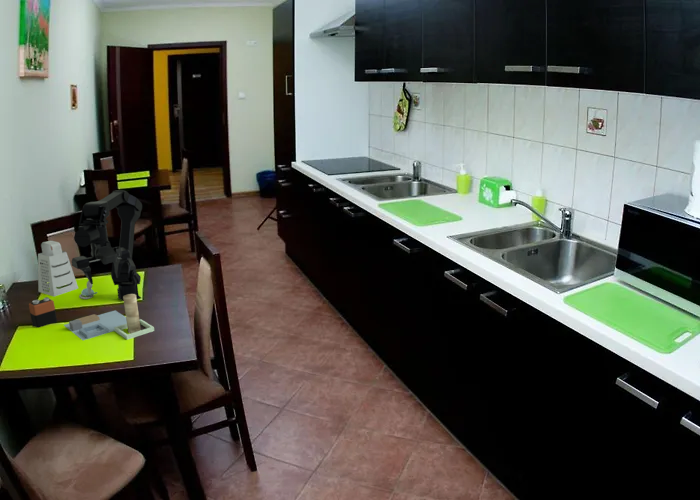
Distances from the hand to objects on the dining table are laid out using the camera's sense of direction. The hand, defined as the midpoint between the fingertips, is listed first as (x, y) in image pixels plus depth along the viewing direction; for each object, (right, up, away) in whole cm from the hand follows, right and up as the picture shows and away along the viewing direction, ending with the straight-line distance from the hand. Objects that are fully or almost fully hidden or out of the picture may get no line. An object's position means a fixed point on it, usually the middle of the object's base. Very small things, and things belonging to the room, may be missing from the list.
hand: (104, 280), depth 208 cm
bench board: (+1, -16, -7) cm, 17 cm away
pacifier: (-16, -8, +21) cm, 27 cm away
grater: (-31, -5, +29) cm, 42 cm away
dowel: (+15, -17, -12) cm, 26 cm away
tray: (+15, -17, -12) cm, 26 cm away
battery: (-18, -16, -5) cm, 25 cm away
